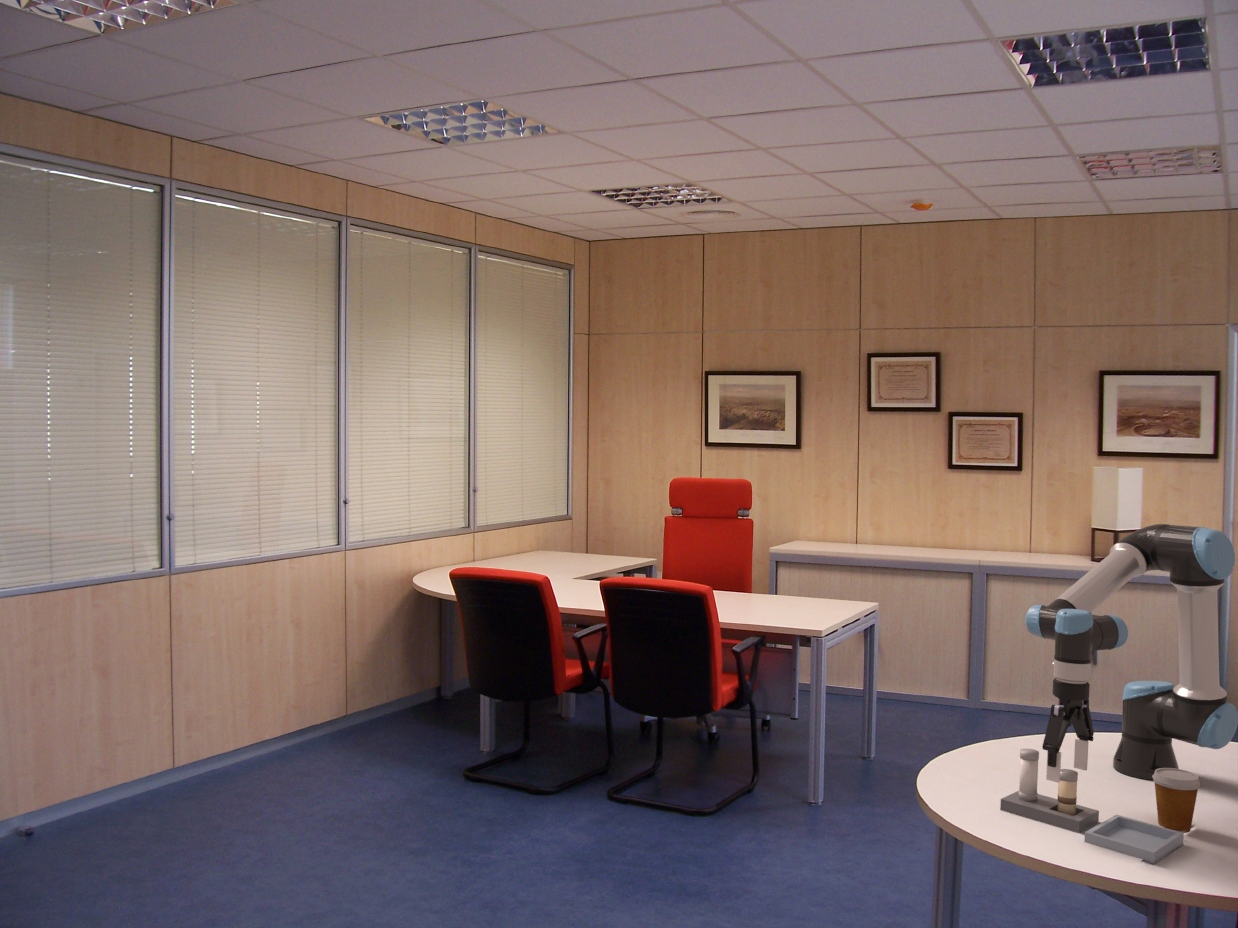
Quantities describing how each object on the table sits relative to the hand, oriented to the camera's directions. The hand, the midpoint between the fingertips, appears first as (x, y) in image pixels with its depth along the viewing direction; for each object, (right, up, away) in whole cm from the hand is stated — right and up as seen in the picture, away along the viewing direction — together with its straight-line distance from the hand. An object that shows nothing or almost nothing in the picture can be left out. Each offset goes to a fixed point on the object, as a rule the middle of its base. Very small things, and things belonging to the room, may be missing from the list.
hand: (1067, 774), depth 239 cm
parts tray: (+10, -12, -11) cm, 19 cm away
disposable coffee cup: (+23, -12, -1) cm, 26 cm away
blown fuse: (0, -10, +1) cm, 10 cm away
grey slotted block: (-3, -11, +3) cm, 12 cm away
